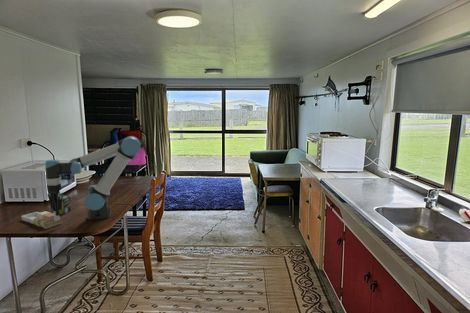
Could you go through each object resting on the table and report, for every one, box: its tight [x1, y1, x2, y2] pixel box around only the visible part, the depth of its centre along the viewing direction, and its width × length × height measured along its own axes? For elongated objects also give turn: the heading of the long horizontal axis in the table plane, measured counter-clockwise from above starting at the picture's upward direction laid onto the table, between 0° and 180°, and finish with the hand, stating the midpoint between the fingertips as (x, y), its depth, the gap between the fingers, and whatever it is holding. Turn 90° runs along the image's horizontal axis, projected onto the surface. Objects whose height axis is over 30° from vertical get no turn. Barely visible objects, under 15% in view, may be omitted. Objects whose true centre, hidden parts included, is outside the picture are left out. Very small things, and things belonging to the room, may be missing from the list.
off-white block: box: [38, 210, 51, 219], centre depth 195 cm, size 6×5×3 cm
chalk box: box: [51, 192, 72, 215], centre depth 216 cm, size 9×9×15 cm
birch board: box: [33, 217, 63, 230], centre depth 194 cm, size 14×10×4 cm
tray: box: [21, 211, 40, 225], centre depth 201 cm, size 16×10×3 cm, turn 61°
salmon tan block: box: [44, 212, 54, 221], centre depth 191 cm, size 6×5×3 cm
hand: (57, 220), depth 188 cm, fingers closed
